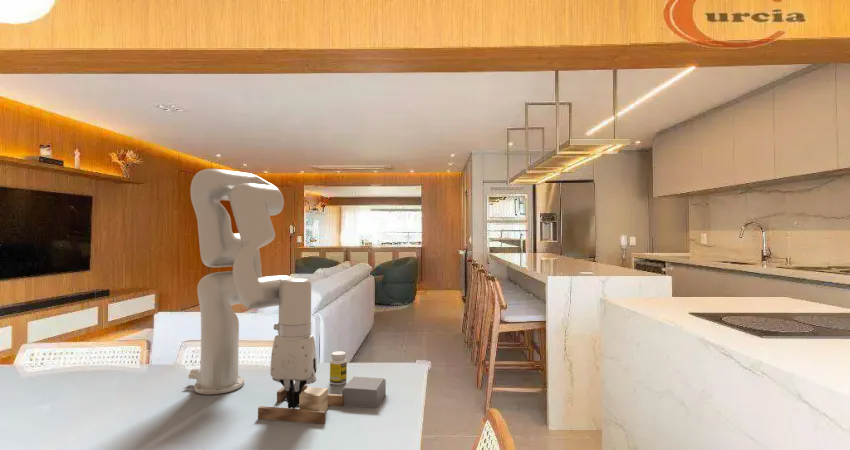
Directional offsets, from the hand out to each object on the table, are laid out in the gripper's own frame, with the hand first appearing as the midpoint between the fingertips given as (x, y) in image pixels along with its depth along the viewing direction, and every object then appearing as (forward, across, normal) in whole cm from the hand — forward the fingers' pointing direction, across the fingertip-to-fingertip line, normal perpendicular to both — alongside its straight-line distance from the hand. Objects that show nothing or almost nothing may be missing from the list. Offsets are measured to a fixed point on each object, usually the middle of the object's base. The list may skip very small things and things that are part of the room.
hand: (294, 405), depth 105 cm
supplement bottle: (+1, +4, +21) cm, 21 cm away
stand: (+1, +15, +10) cm, 18 cm away
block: (+1, +5, 0) cm, 5 cm away
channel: (+1, +2, +3) cm, 4 cm away
